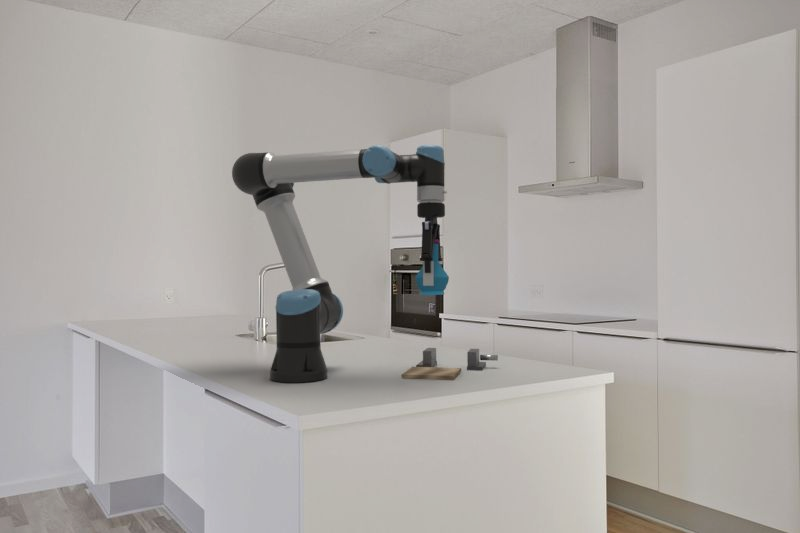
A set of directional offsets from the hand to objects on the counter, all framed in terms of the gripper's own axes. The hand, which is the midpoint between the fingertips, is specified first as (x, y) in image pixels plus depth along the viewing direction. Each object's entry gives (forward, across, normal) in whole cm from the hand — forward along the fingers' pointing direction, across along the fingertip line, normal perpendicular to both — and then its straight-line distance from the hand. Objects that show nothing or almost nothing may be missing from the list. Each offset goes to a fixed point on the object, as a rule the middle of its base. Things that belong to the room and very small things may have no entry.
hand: (431, 285), depth 183 cm
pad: (+25, 0, 0) cm, 25 cm away
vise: (+25, +15, -5) cm, 29 cm away
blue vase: (+3, 0, 0) cm, 3 cm away
